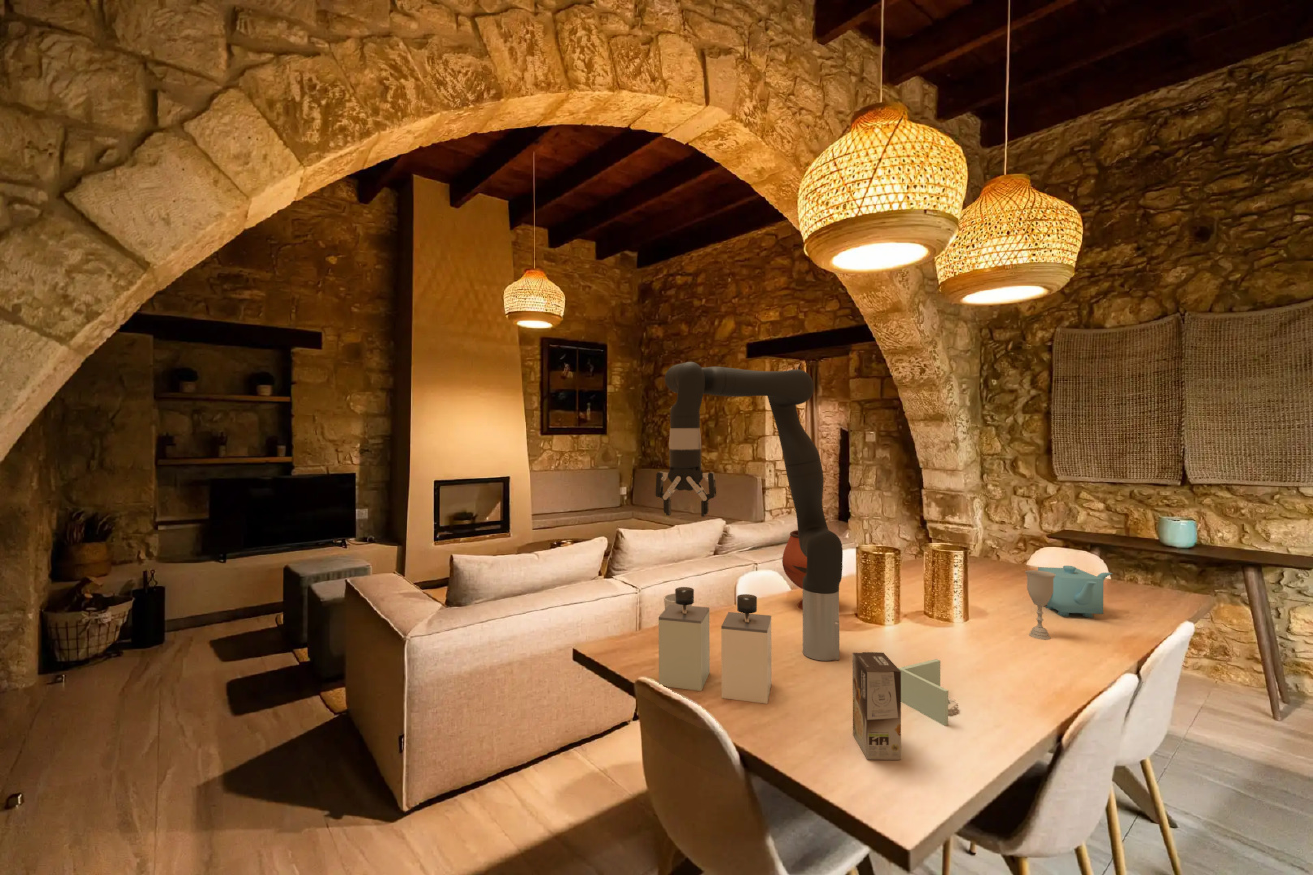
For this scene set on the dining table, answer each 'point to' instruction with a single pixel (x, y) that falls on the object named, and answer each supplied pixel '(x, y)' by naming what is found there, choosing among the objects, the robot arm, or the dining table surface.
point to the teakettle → (1076, 591)
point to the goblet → (795, 562)
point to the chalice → (1040, 597)
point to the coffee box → (877, 705)
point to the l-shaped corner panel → (926, 691)
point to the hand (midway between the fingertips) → (685, 515)
